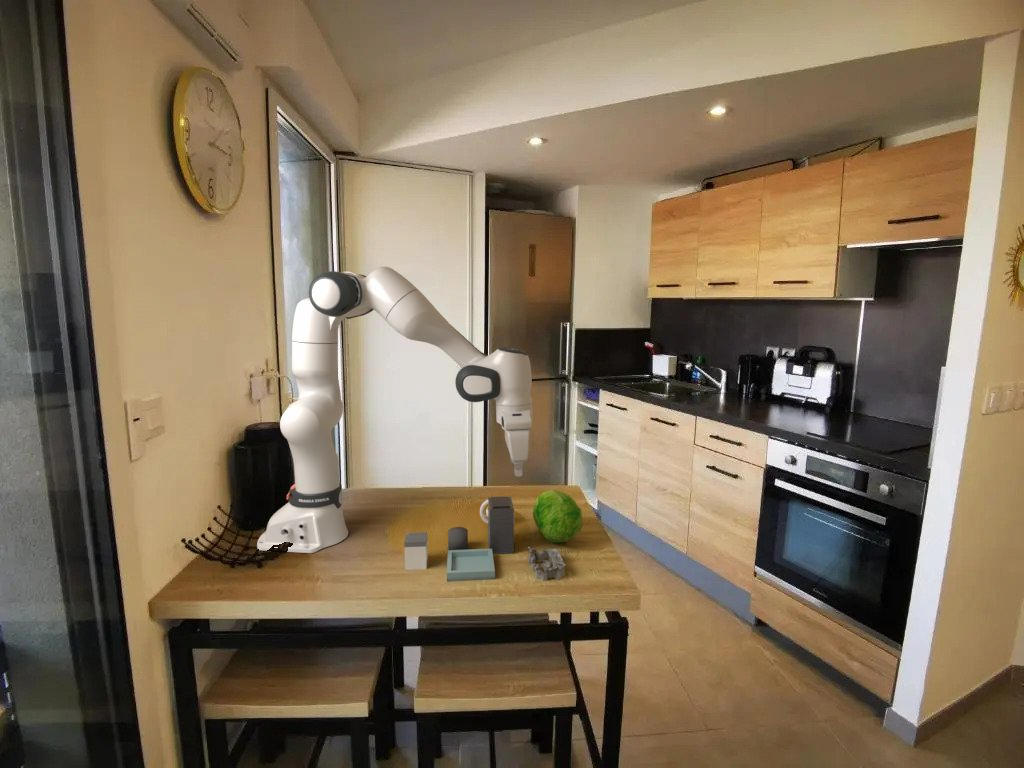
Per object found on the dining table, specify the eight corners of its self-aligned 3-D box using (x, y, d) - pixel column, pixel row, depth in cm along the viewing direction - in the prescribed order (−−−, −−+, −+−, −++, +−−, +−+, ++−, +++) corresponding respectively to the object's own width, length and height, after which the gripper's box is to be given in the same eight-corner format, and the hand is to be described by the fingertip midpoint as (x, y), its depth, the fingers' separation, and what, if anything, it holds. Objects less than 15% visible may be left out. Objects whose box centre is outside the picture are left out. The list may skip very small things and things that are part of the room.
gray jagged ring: (526, 560, 129) (526, 545, 128) (555, 558, 130) (555, 543, 130) (535, 583, 119) (535, 566, 118) (567, 580, 120) (567, 563, 119)
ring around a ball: (507, 522, 151) (507, 495, 150) (507, 530, 145) (508, 503, 144) (479, 522, 151) (479, 496, 149) (479, 530, 145) (479, 503, 144)
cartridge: (404, 570, 124) (404, 542, 122) (407, 559, 129) (406, 532, 127) (427, 569, 124) (426, 541, 123) (428, 558, 129) (427, 532, 128)
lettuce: (570, 517, 155) (571, 479, 153) (588, 553, 132) (589, 510, 130) (527, 518, 154) (527, 480, 152) (537, 555, 131) (538, 511, 129)
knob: (448, 554, 131) (447, 535, 131) (448, 545, 136) (448, 527, 136) (467, 553, 132) (467, 534, 131) (467, 544, 137) (467, 526, 136)
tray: (446, 581, 119) (446, 573, 118) (447, 557, 129) (447, 550, 129) (494, 579, 120) (494, 570, 119) (492, 556, 131) (492, 548, 130)
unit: (488, 554, 131) (488, 507, 130) (487, 540, 139) (487, 495, 137) (514, 553, 132) (515, 506, 130) (511, 539, 140) (511, 495, 138)
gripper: (498, 406, 136) (500, 457, 138) (505, 424, 116) (507, 484, 118) (522, 405, 136) (523, 456, 139) (533, 423, 116) (534, 482, 118)
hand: (516, 469), depth 128 cm, fingers open, 8 cm apart
